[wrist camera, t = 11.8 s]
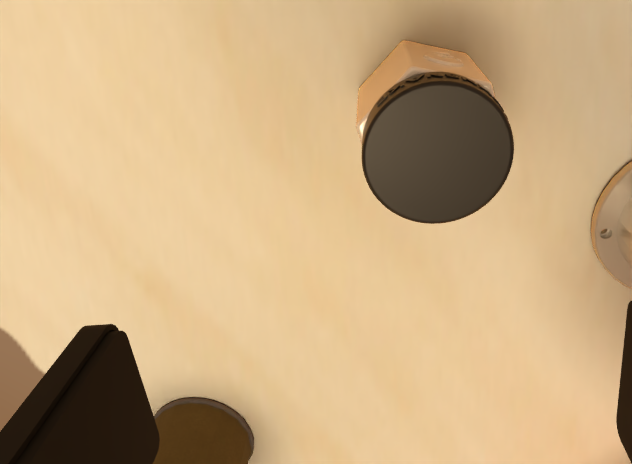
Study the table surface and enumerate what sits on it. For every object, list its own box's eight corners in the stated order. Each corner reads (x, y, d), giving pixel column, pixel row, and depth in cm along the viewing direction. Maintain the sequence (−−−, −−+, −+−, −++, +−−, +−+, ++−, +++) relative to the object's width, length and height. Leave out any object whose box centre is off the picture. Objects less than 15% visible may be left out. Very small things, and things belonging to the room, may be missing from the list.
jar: (499, 56, 41) (546, 99, 30) (463, 165, 45) (494, 239, 34) (371, 29, 41) (372, 63, 30) (346, 141, 44) (340, 207, 34)
